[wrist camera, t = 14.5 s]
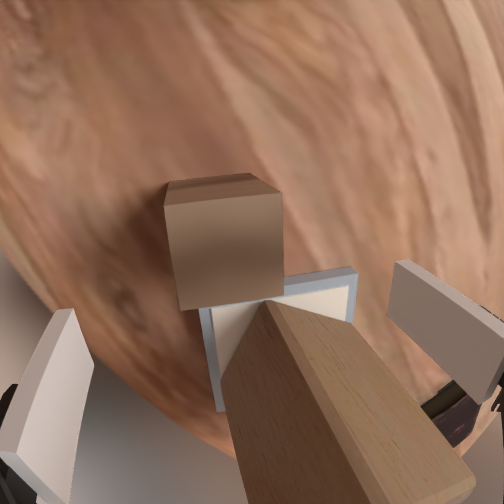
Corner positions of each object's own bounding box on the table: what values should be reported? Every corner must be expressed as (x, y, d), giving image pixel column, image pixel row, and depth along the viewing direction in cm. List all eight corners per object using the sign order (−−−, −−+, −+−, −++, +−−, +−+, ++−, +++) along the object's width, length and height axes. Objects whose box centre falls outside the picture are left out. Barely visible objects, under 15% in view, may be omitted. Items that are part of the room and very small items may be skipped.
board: (195, 289, 26) (197, 299, 24) (350, 266, 28) (359, 274, 27) (215, 402, 31) (217, 413, 30) (336, 376, 34) (342, 386, 32)
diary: (400, 462, 53) (409, 478, 49) (395, 415, 43) (409, 436, 38) (464, 418, 54) (475, 431, 49) (478, 356, 43) (494, 371, 39)
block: (214, 380, 28) (267, 588, 10) (260, 291, 25) (388, 533, 7) (303, 394, 31) (384, 554, 13) (353, 319, 29) (486, 481, 11)
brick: (169, 181, 22) (163, 205, 15) (249, 172, 23) (282, 192, 16) (178, 257, 25) (180, 310, 17) (253, 247, 26) (284, 295, 18)
